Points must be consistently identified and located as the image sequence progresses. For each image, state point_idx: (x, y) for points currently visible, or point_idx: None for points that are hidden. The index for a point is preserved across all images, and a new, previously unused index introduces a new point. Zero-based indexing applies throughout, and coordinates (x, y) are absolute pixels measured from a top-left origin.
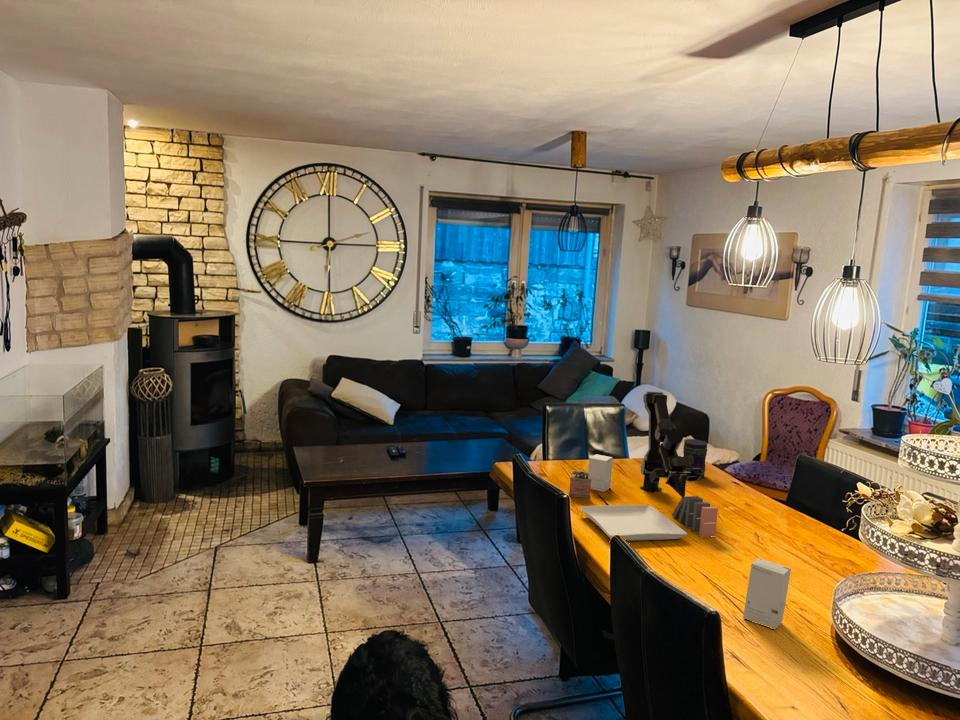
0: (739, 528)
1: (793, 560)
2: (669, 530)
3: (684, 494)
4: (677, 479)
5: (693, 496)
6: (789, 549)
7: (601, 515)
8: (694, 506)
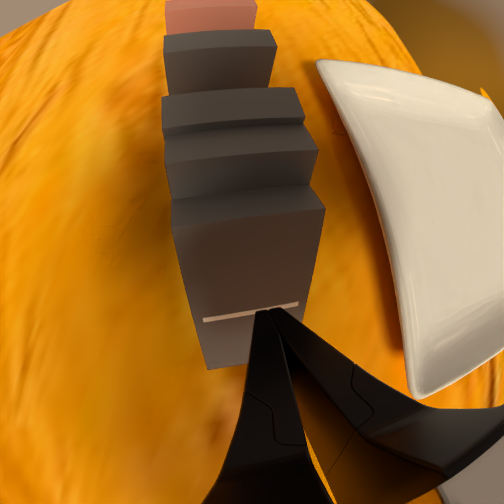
0: (18, 209)
1: (69, 29)
2: (362, 133)
3: (262, 315)
4: (417, 429)
5: (223, 153)
6: (21, 75)
7: None
8: (271, 63)
